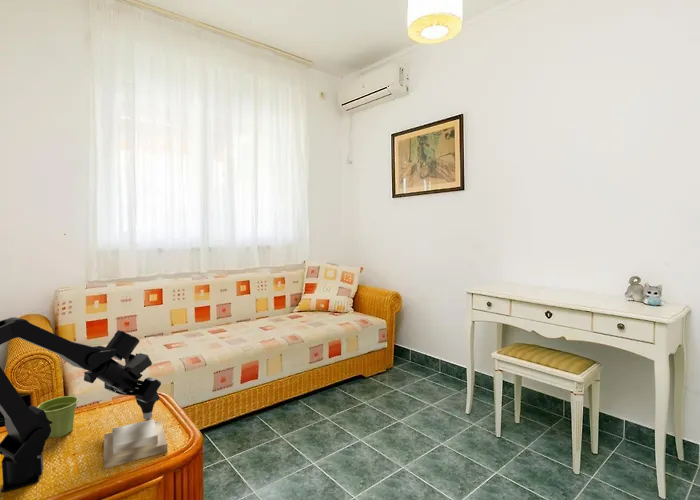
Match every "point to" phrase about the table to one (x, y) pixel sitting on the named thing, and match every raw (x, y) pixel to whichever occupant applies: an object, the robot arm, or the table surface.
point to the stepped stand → (134, 442)
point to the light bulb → (146, 408)
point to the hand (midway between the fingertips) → (151, 396)
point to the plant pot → (60, 414)
